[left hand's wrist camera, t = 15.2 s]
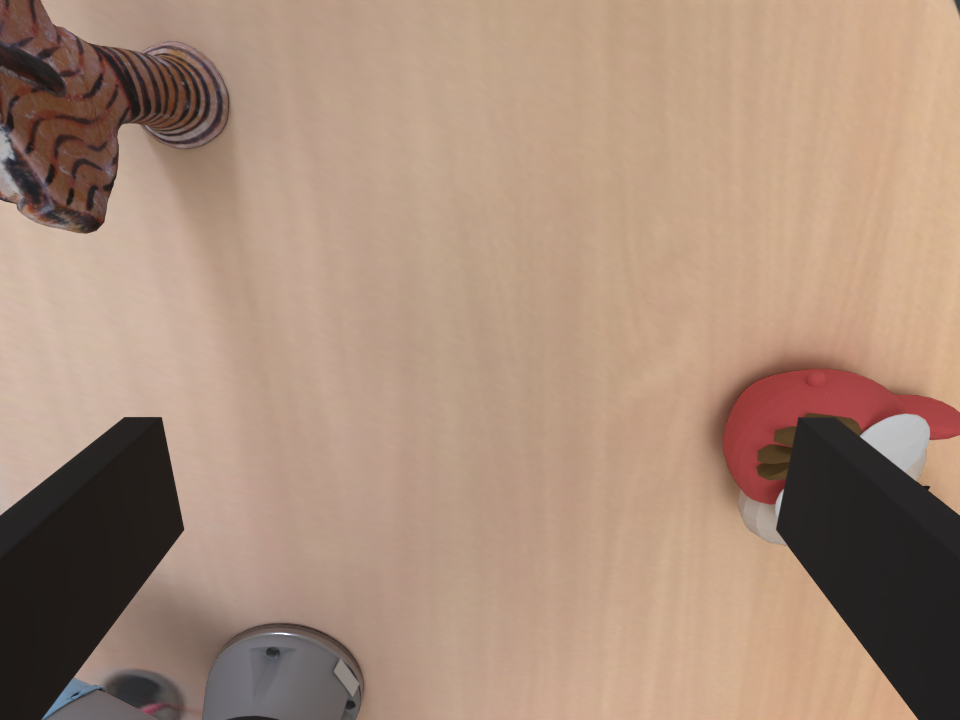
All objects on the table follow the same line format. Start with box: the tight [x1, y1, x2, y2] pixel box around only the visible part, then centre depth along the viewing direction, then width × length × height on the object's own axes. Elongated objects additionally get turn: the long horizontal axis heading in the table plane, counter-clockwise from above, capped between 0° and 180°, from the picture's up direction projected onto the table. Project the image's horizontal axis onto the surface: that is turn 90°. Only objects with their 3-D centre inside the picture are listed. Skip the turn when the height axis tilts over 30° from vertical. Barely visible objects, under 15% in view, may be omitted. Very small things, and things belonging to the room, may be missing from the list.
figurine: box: [0, 0, 228, 233], centre depth 29 cm, size 15×8×30 cm, turn 26°
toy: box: [724, 369, 960, 546], centre depth 50 cm, size 18×10×30 cm
